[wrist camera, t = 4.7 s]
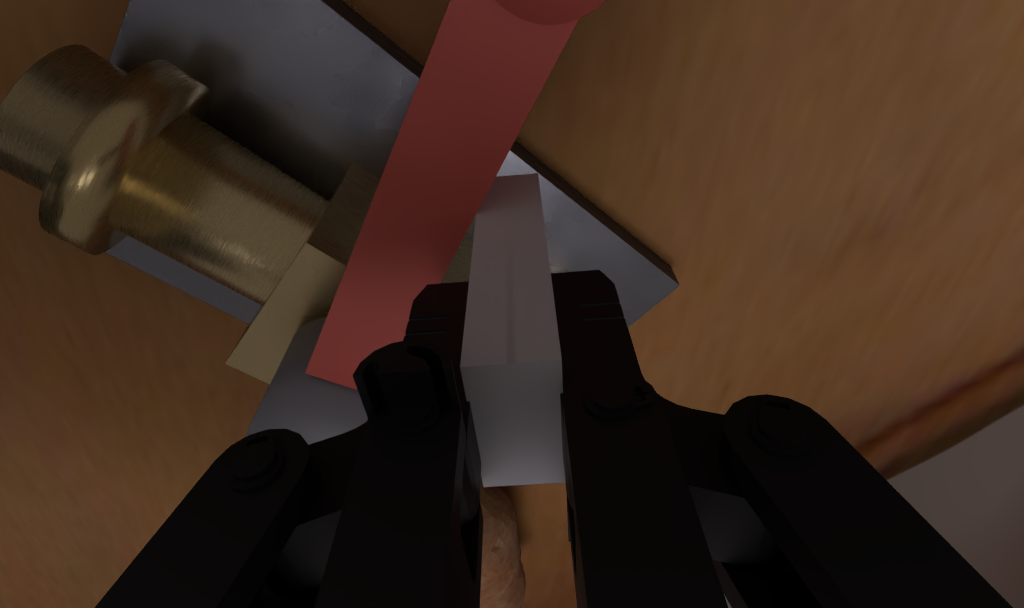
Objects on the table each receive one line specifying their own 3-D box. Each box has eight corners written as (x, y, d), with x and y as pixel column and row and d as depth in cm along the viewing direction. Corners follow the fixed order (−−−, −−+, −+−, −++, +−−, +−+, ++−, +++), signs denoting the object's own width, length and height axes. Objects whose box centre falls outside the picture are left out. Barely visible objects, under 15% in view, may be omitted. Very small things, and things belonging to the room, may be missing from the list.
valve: (77, 209, 22) (-79, 319, 16) (195, -118, 16) (9, -133, 10) (487, 422, 31) (483, 545, 25) (670, 266, 24) (725, 382, 18)
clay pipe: (479, 328, 31) (209, 395, 28) (545, 466, 23) (172, 586, 20) (499, 511, 42) (307, 575, 39) (549, 650, 34) (310, 748, 31)
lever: (278, 377, 18) (234, 469, 15) (487, -219, 9) (481, -278, 6) (381, 409, 19) (359, 501, 16) (655, -98, 10) (717, -101, 7)
